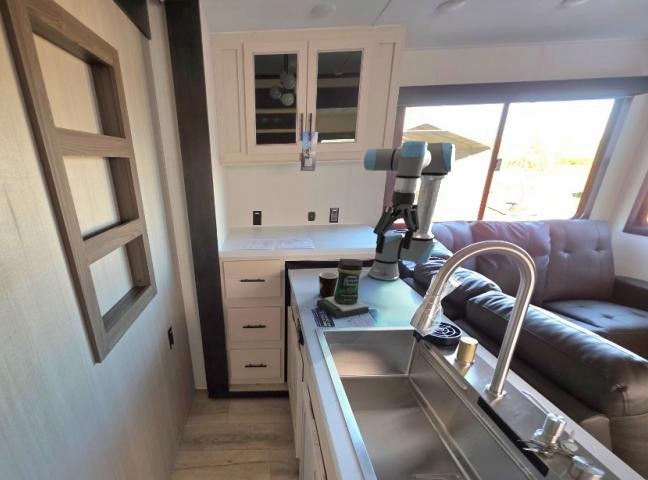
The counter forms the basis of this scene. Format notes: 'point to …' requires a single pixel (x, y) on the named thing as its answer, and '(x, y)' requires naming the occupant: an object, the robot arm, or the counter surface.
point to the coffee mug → (327, 284)
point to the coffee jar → (348, 281)
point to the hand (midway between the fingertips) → (392, 250)
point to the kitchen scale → (341, 308)
